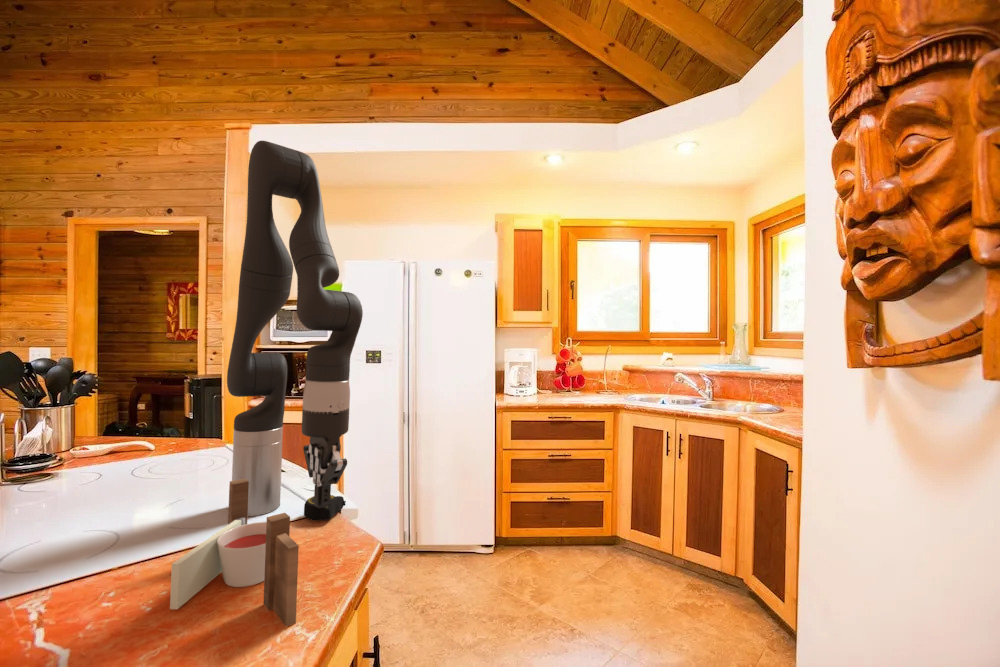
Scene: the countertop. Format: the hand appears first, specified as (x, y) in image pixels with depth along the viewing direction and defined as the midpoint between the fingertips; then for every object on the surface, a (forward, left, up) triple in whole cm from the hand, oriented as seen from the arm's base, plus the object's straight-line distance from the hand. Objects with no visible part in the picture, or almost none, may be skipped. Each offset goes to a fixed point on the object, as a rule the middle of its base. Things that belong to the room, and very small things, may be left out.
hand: (321, 505), depth 74 cm
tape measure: (-14, +7, -8) cm, 18 cm away
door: (-3, -16, -8) cm, 18 cm away
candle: (0, -11, -8) cm, 14 cm away
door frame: (+3, -10, -8) cm, 13 cm away
